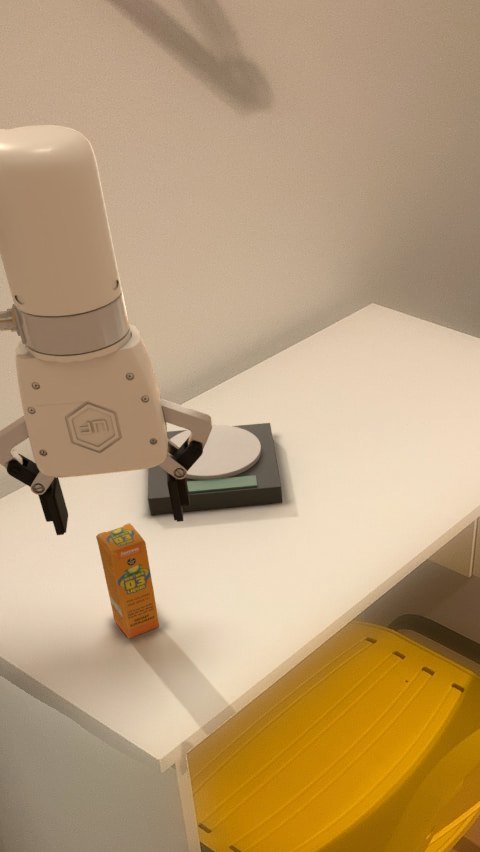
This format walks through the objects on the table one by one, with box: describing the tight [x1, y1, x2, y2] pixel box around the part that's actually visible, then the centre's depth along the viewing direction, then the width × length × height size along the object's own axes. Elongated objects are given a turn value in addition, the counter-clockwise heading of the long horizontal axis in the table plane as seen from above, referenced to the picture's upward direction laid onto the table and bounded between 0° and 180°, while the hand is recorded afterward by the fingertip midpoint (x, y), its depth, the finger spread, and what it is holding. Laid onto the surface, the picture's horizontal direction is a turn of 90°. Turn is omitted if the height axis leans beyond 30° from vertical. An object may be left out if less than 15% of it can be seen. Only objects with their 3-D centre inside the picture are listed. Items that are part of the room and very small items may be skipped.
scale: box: [147, 422, 283, 516], centre depth 107 cm, size 14×14×3 cm
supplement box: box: [95, 522, 160, 639], centre depth 85 cm, size 3×3×10 cm
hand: (121, 519), depth 80 cm, fingers open, 9 cm apart
